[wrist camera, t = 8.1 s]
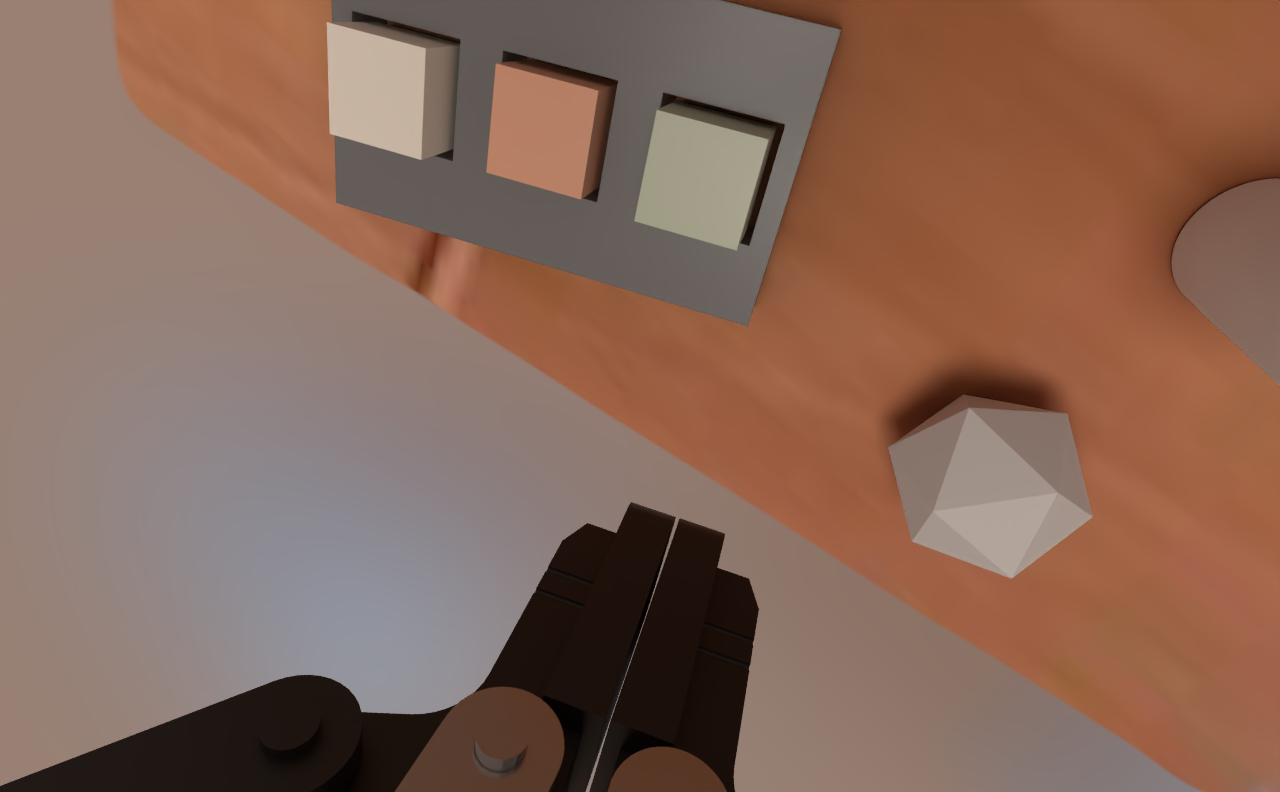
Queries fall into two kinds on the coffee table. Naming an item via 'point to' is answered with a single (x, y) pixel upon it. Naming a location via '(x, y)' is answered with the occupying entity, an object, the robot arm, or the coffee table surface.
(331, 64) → the key ivory
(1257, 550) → the coffee table surface
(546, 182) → the key terracotta
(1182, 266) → the mug
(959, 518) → the die
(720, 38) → the key panel
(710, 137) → the key sage
